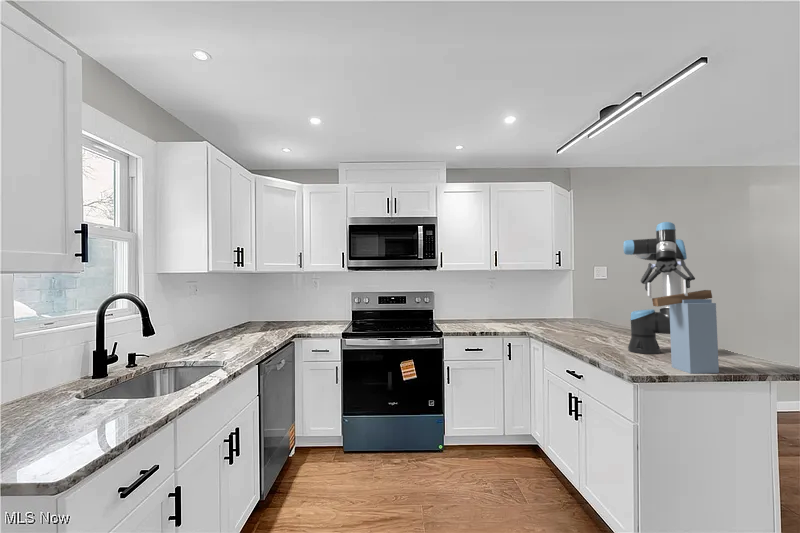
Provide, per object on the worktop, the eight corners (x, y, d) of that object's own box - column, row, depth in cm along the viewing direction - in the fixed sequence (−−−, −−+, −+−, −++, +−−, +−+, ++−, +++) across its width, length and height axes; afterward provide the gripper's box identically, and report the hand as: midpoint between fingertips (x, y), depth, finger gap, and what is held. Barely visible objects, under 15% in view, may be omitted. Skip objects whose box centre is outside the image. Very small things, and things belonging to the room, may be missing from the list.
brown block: (653, 306, 176) (651, 298, 176) (706, 297, 176) (704, 289, 176) (658, 306, 173) (656, 298, 173) (712, 297, 172) (710, 290, 172)
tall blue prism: (671, 367, 179) (669, 298, 180) (698, 366, 179) (695, 298, 180) (690, 373, 167) (687, 300, 168) (718, 373, 167) (715, 299, 168)
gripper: (633, 253, 186) (632, 294, 178) (697, 245, 168) (699, 290, 160) (638, 260, 190) (638, 300, 183) (701, 252, 172) (704, 297, 164)
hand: (667, 295), depth 171 cm, fingers open, 13 cm apart
